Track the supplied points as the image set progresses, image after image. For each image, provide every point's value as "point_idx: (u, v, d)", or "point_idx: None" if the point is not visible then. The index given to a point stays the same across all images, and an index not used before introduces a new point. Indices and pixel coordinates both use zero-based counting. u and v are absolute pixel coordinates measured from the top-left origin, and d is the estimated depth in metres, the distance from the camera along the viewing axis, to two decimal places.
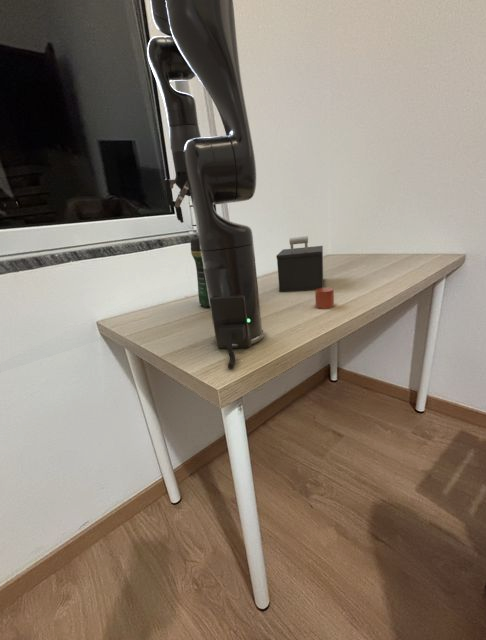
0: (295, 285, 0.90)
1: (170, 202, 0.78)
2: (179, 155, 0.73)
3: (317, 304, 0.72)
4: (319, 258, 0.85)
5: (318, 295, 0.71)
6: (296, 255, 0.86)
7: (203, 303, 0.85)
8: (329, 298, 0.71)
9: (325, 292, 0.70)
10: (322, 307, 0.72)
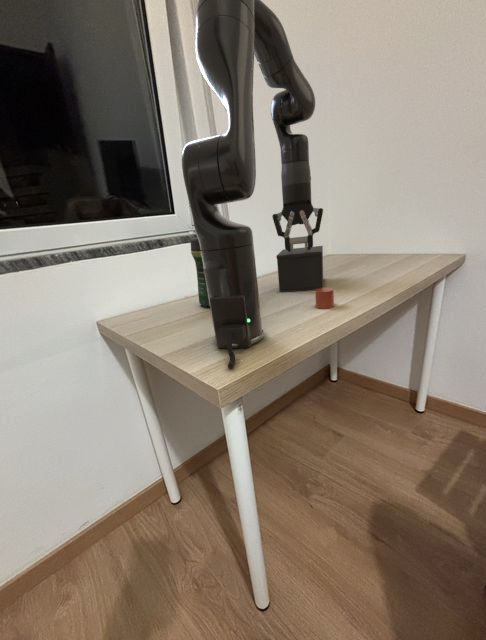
0: (295, 285, 0.90)
1: (280, 233, 0.85)
2: (286, 189, 0.79)
3: (317, 304, 0.72)
4: (319, 258, 0.85)
5: (318, 295, 0.71)
6: (296, 255, 0.86)
7: (203, 303, 0.85)
8: (329, 298, 0.71)
9: (325, 292, 0.70)
10: (322, 307, 0.72)
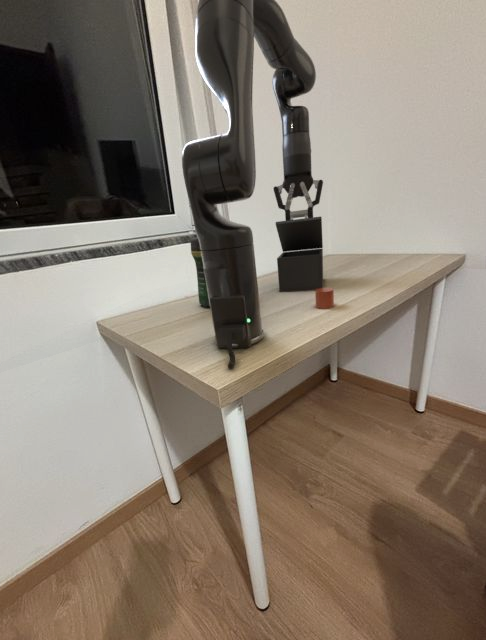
0: (295, 285, 0.90)
1: (280, 205, 0.87)
2: (287, 160, 0.81)
3: (317, 304, 0.72)
4: (319, 258, 0.85)
5: (318, 295, 0.71)
6: (295, 220, 0.85)
7: (203, 303, 0.85)
8: (329, 298, 0.71)
9: (325, 292, 0.70)
10: (322, 307, 0.72)
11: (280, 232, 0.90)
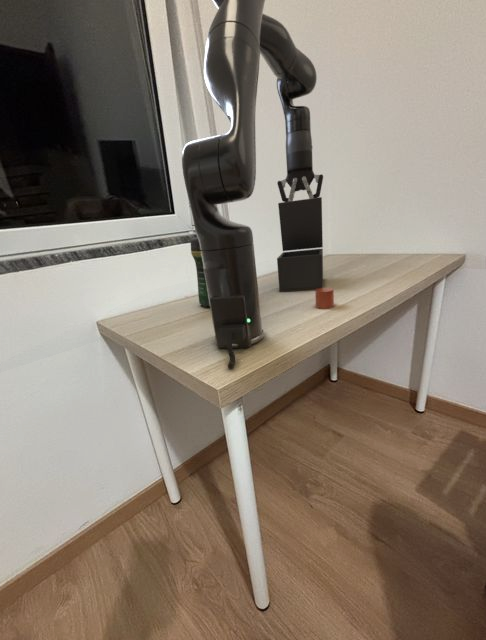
0: (295, 285, 0.90)
1: (284, 198, 0.94)
2: (290, 156, 0.88)
3: (317, 304, 0.72)
4: (319, 258, 0.85)
5: (318, 295, 0.71)
6: (297, 200, 0.90)
7: (203, 303, 0.85)
8: (329, 298, 0.71)
9: (325, 292, 0.70)
10: (322, 307, 0.72)
11: (281, 217, 0.94)
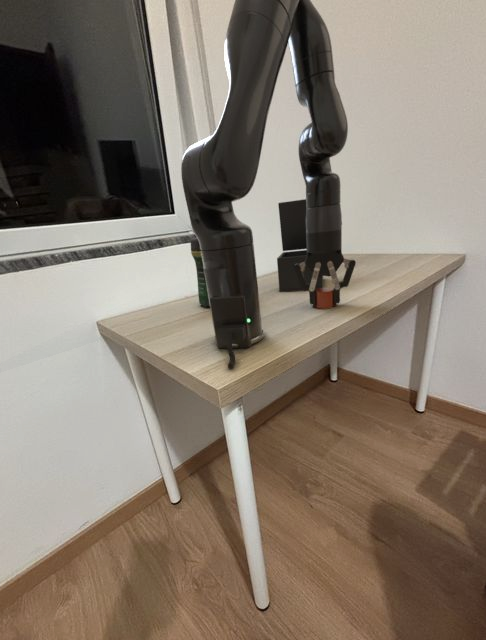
0: (295, 285, 0.90)
1: (304, 286, 0.71)
2: (312, 237, 0.65)
3: (317, 304, 0.72)
4: None
5: (318, 295, 0.71)
6: (297, 200, 0.90)
7: (203, 303, 0.85)
8: (329, 298, 0.71)
9: (325, 292, 0.70)
10: (322, 307, 0.72)
11: (281, 217, 0.94)
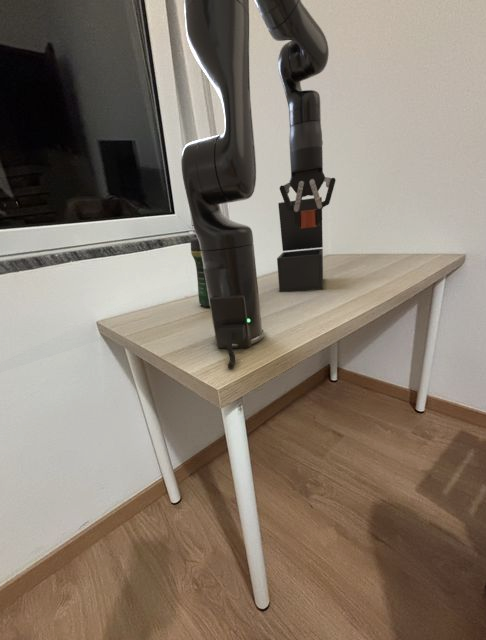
0: (295, 285, 0.90)
1: (289, 206, 0.77)
2: (294, 154, 0.71)
3: (301, 224, 0.78)
4: (319, 258, 0.85)
5: (302, 214, 0.77)
6: None
7: (203, 303, 0.85)
8: (312, 216, 0.76)
9: (308, 211, 0.76)
10: (306, 226, 0.78)
11: (281, 217, 0.94)
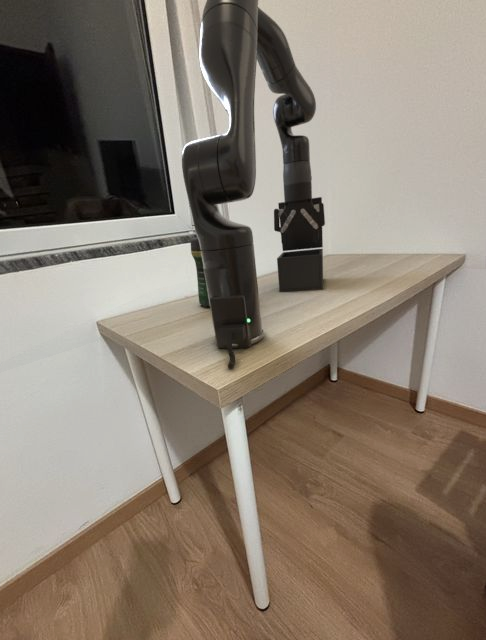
0: (295, 285, 0.90)
1: (276, 228, 0.89)
2: (287, 188, 0.82)
3: None
4: (319, 258, 0.85)
5: None
6: None
7: (203, 303, 0.85)
8: None
9: None
10: None
11: (281, 217, 0.94)
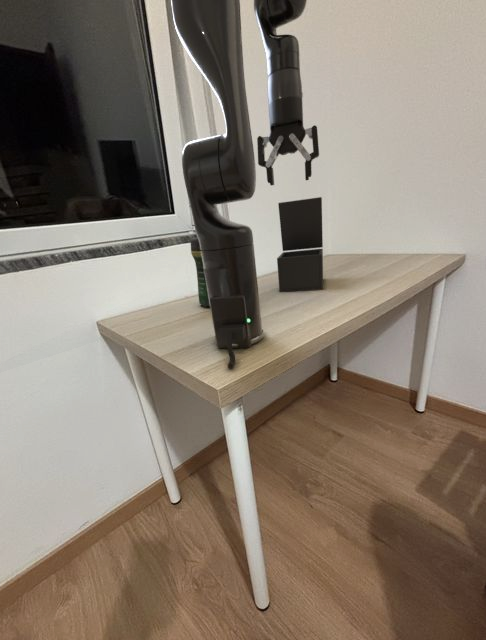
0: (295, 285, 0.90)
1: (261, 162, 0.73)
2: (273, 106, 0.67)
3: None
4: (319, 258, 0.85)
5: None
6: (297, 200, 0.90)
7: (203, 303, 0.85)
8: None
9: None
10: None
11: (281, 217, 0.94)
